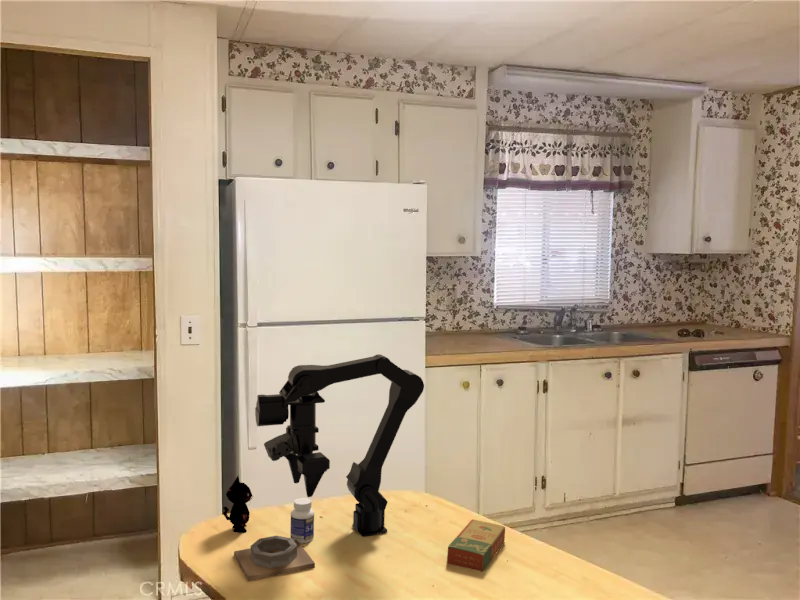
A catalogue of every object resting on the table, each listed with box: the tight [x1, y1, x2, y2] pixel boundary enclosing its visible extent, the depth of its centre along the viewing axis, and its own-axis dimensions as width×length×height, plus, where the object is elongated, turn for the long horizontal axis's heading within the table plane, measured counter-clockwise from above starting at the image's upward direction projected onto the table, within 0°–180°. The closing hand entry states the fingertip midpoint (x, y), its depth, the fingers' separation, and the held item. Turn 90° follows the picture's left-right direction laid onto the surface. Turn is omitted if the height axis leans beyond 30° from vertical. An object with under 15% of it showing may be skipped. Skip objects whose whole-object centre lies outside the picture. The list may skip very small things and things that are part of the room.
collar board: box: [233, 535, 316, 582], centre depth 143 cm, size 14×12×4 cm
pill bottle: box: [289, 497, 315, 544], centre depth 154 cm, size 5×5×9 cm
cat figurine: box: [222, 475, 254, 534], centre depth 158 cm, size 7×7×12 cm
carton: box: [446, 519, 506, 572], centre depth 149 cm, size 8×16×4 cm, turn 155°
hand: (302, 489), depth 153 cm, fingers open, 9 cm apart
